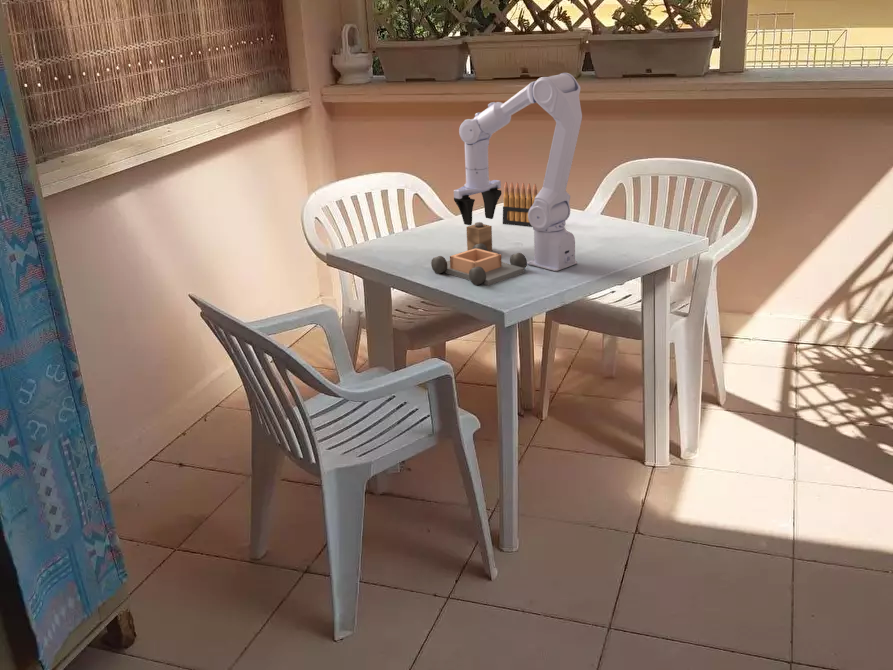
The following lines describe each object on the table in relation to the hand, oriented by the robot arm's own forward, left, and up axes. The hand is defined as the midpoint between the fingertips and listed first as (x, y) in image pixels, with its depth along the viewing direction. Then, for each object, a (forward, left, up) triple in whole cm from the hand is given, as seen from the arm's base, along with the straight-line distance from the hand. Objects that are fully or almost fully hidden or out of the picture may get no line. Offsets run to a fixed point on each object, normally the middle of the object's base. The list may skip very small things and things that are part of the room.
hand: (478, 221), depth 223 cm
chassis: (-12, +12, -8) cm, 19 cm away
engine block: (0, 0, -8) cm, 8 cm away
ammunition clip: (+9, -25, -8) cm, 28 cm away
